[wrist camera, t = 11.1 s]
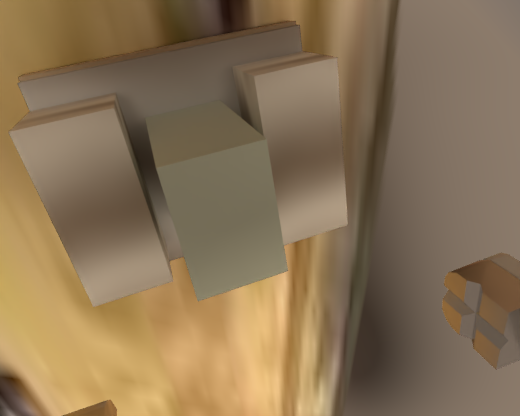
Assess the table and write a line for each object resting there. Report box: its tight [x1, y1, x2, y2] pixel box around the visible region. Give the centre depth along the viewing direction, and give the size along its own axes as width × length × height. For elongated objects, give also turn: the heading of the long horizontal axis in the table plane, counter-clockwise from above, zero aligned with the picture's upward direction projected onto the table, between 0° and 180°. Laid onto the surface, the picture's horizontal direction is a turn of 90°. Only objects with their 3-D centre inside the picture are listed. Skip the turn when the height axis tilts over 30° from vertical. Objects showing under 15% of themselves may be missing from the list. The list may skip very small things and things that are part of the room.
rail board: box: [8, 21, 348, 307], centre depth 21 cm, size 12×14×6 cm
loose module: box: [145, 100, 288, 301], centre depth 18 cm, size 6×4×8 cm, turn 10°
